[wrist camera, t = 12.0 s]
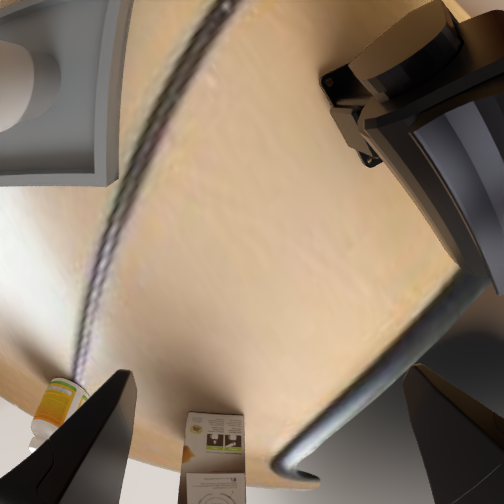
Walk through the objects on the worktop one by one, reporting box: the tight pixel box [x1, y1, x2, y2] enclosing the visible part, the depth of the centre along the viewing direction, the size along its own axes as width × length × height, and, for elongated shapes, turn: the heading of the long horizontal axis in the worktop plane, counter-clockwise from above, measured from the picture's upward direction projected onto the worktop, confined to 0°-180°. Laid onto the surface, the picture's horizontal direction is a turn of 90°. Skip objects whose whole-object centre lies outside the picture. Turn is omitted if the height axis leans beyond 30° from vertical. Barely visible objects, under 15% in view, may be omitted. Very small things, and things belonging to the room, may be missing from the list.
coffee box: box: [178, 412, 246, 504], centre depth 24 cm, size 9×6×16 cm
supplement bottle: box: [29, 378, 89, 453], centre depth 24 cm, size 5×5×10 cm
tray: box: [0, 0, 134, 187], centre depth 14 cm, size 14×14×2 cm
